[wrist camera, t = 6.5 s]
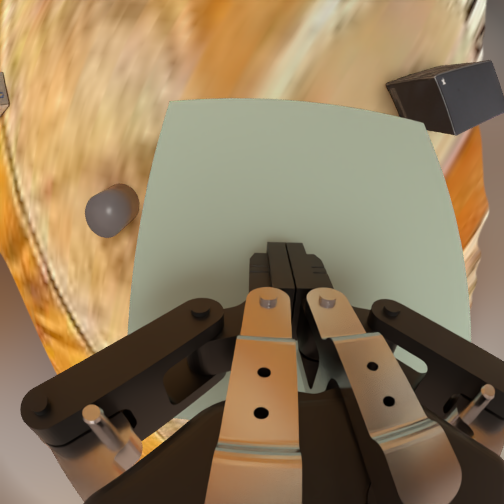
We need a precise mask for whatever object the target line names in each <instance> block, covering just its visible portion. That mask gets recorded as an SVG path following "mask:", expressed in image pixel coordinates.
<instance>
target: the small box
mask: <svg viewBox="0 0 504 504" xmlns="http://www.w3.org/2000/svg"><path fill="white" fill-rule="evenodd" d="M386 86H387V89H388V91H389V92H390V94H391V96H392V99H393V101H394V103H395V105H396V108H397V110H398V113H399V116H400V117H401V118H406V119H410V120H413V121H417V122H421V123H424V125H425V128H426V130H429V131H435V132H441V133H446V134H452V135H455V136H456V135H458V134H460V133H462V132H464V131H466V130H468V129H470V128H473V127H475V126H477V125H479V124H481V123H483V122H485V121H487V120H489V119H492V118H494V117H496V116H498V115H500V114H503V113H504V96H503V93H502V90H501V86H500V83H499V80H498V77H497V75H496V72H495V69H494V66H493V63H492V61H491V60H487V61H481V62H473V63H463V64H454V65H445V66H438V67H434V68H431V69H428V70H424V71H421V72H418V73H414V74H410V75H408V76H405V77H402V78H399V79H397V80H394V81H391V82H388V83H386Z"/></svg>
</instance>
